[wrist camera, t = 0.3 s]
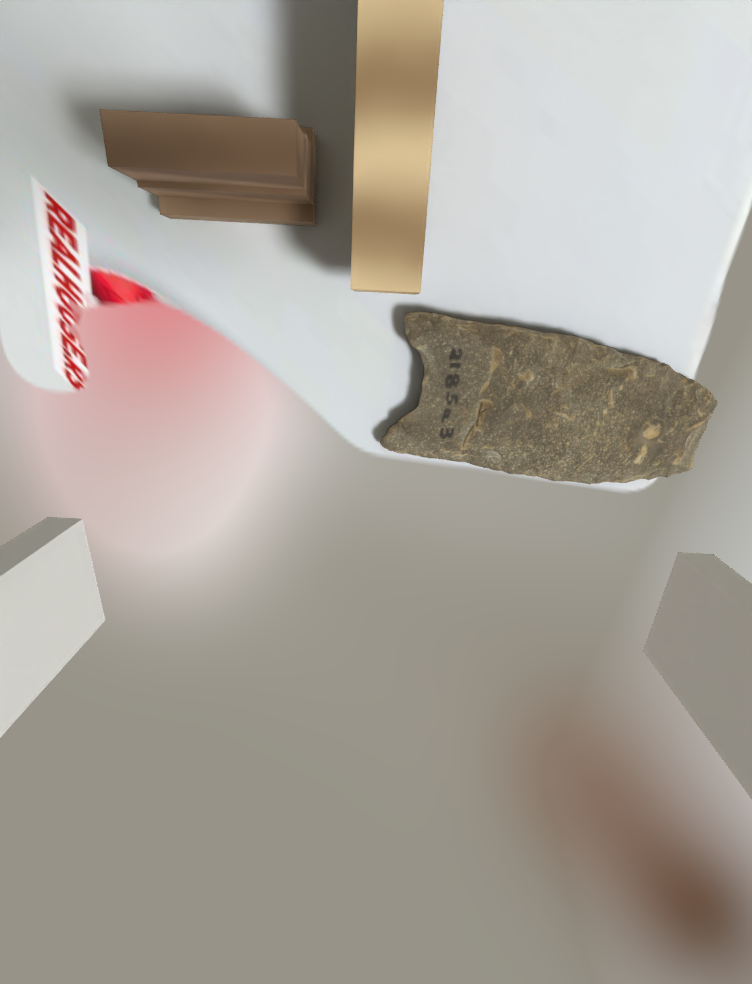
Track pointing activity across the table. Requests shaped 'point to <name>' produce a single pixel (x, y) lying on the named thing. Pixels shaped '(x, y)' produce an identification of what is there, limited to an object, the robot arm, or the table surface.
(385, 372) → the table surface
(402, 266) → the brass bar
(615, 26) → the table surface
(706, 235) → the table surface
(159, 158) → the stepped block
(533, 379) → the stone tool
